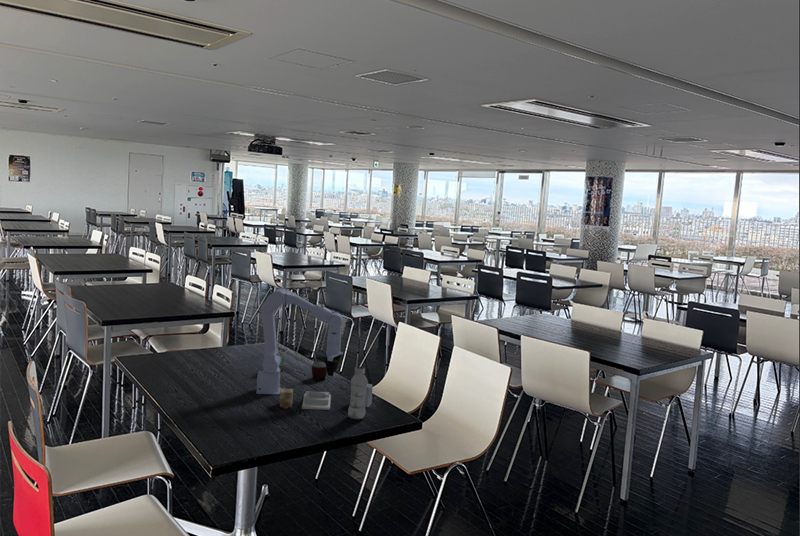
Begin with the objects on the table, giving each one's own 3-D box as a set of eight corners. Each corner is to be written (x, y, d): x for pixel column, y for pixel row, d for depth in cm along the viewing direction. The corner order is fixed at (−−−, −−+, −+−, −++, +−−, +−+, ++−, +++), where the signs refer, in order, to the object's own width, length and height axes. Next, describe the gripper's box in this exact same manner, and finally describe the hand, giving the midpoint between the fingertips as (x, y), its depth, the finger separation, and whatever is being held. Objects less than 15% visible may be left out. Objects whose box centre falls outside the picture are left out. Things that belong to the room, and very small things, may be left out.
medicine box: (371, 404, 245) (373, 384, 244) (367, 408, 241) (369, 387, 240) (354, 401, 248) (355, 381, 247) (349, 404, 244) (351, 384, 243)
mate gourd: (328, 377, 276) (329, 346, 274) (324, 382, 268) (326, 350, 266) (312, 376, 277) (314, 344, 275) (308, 381, 269) (309, 349, 267)
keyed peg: (279, 408, 234) (280, 393, 233) (281, 402, 240) (281, 388, 239) (290, 408, 234) (291, 394, 234) (292, 403, 240) (293, 389, 240)
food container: (279, 376, 273) (280, 355, 272) (266, 374, 274) (267, 353, 273) (289, 368, 285) (290, 348, 284) (277, 367, 286) (278, 347, 285)
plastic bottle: (347, 414, 232) (350, 365, 230) (364, 415, 233) (368, 366, 231) (347, 421, 226) (350, 370, 224) (365, 421, 227) (368, 371, 224)
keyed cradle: (301, 408, 235) (302, 401, 235) (304, 395, 250) (305, 388, 249) (329, 409, 236) (330, 402, 236) (330, 396, 251) (331, 390, 250)
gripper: (340, 346, 242) (338, 379, 244) (346, 338, 256) (344, 369, 258) (323, 345, 242) (321, 377, 244) (330, 337, 257) (328, 367, 258)
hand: (331, 373), depth 251 cm, fingers open, 7 cm apart
